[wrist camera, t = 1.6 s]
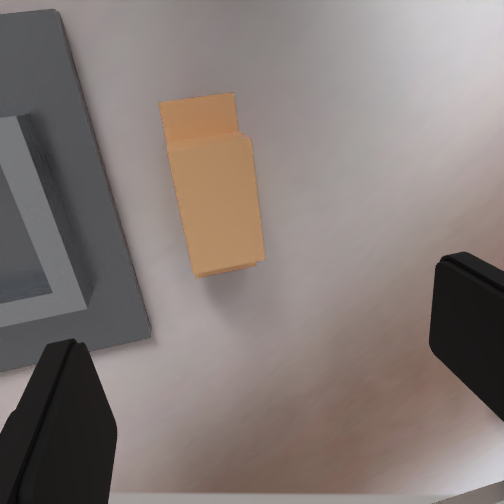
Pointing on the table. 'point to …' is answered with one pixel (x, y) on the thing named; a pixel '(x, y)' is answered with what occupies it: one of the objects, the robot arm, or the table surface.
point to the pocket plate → (56, 206)
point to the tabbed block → (213, 183)
